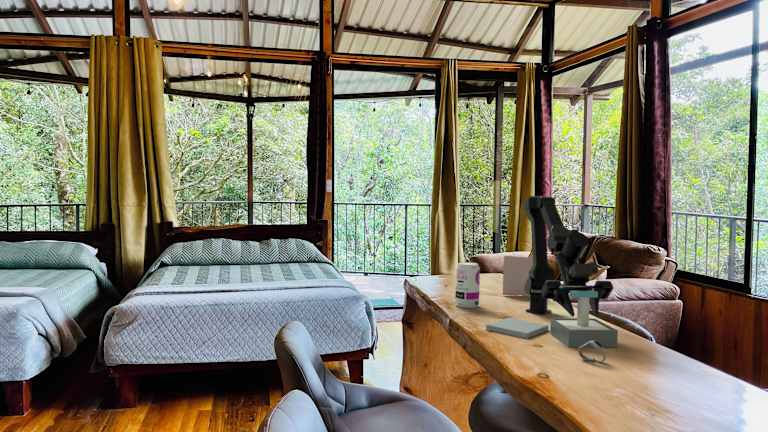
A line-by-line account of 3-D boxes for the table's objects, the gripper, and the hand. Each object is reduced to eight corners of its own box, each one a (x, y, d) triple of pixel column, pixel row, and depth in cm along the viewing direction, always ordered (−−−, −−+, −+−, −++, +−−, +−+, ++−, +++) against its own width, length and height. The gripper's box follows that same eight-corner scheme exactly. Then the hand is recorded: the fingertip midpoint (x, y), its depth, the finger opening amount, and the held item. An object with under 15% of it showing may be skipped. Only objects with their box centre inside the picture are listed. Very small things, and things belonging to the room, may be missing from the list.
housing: (550, 334, 152) (550, 318, 151) (594, 334, 152) (595, 318, 152) (568, 347, 139) (568, 330, 138) (617, 347, 139) (617, 330, 139)
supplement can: (480, 304, 190) (481, 262, 190) (476, 309, 182) (477, 265, 182) (457, 302, 193) (458, 261, 192) (453, 307, 185) (454, 264, 184)
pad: (508, 322, 165) (508, 317, 165) (548, 330, 156) (548, 325, 156) (485, 329, 155) (486, 324, 155) (526, 338, 146) (526, 333, 146)
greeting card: (532, 295, 208) (533, 257, 208) (526, 298, 202) (527, 259, 201) (504, 292, 214) (505, 255, 214) (497, 295, 208) (498, 257, 208)
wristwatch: (604, 365, 125) (605, 344, 124) (576, 360, 128) (577, 340, 128) (606, 361, 128) (607, 340, 127) (579, 357, 131) (580, 336, 131)
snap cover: (555, 324, 151) (556, 287, 150) (593, 324, 151) (594, 287, 151) (570, 334, 140) (572, 295, 139) (611, 334, 140) (613, 295, 140)
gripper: (546, 251, 148) (559, 299, 137) (611, 252, 149) (630, 299, 138) (535, 275, 156) (548, 321, 146) (598, 275, 157) (614, 322, 147)
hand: (585, 315), depth 144 cm, fingers closed on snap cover, 6 cm apart
